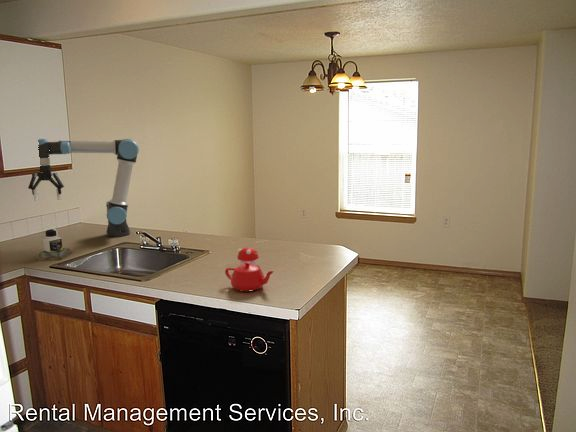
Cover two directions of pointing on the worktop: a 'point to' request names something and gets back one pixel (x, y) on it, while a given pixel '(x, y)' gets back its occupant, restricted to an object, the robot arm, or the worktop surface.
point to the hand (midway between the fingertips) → (47, 199)
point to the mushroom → (247, 255)
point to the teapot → (247, 277)
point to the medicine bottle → (52, 241)
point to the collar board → (54, 255)
